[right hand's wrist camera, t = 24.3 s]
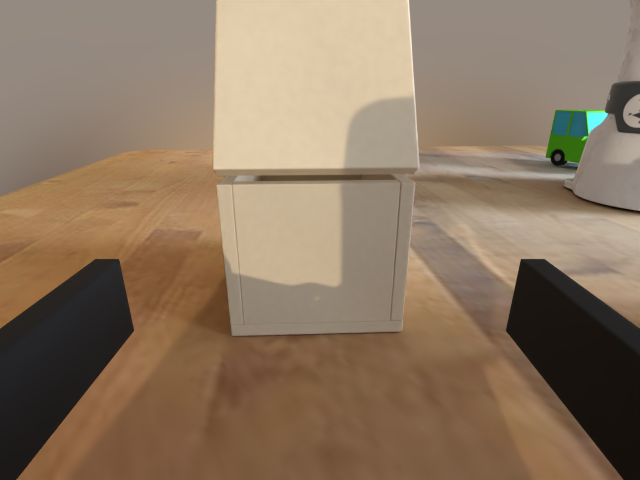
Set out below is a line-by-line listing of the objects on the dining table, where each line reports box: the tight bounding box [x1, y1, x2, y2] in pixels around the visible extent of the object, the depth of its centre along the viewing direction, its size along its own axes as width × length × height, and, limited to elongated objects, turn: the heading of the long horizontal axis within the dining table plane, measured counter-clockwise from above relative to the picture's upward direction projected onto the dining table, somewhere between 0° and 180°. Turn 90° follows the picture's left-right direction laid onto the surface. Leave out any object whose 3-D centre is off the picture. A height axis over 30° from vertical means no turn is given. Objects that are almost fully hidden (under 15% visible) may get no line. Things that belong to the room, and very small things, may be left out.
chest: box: [216, 174, 415, 336], centre depth 26 cm, size 14×10×9 cm
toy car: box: [546, 110, 608, 165], centre depth 68 cm, size 10×13×10 cm
